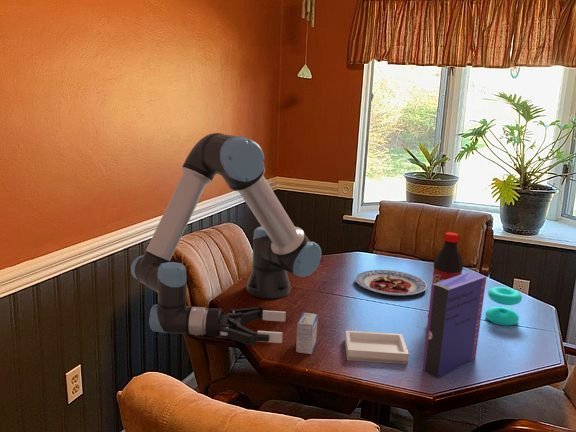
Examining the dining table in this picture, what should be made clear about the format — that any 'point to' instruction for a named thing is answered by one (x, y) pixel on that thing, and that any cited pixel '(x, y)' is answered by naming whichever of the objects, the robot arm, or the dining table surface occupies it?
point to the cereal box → (453, 323)
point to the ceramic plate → (391, 282)
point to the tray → (376, 347)
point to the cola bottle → (448, 260)
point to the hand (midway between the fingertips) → (284, 326)
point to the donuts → (502, 313)
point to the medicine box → (306, 333)
